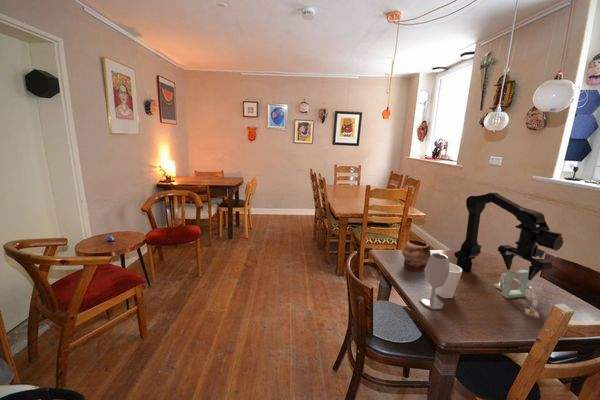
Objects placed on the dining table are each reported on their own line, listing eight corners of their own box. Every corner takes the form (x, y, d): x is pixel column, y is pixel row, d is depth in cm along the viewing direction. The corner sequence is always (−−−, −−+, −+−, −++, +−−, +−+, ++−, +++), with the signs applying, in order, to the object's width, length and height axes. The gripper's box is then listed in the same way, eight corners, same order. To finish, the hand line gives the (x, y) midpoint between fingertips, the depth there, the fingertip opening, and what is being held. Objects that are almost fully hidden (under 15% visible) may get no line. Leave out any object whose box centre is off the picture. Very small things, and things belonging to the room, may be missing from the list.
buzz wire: (528, 318, 101) (540, 298, 99) (490, 284, 125) (499, 267, 123) (542, 322, 101) (554, 303, 99) (502, 287, 125) (511, 271, 122)
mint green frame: (507, 298, 114) (513, 274, 111) (500, 294, 117) (506, 270, 114) (525, 296, 116) (531, 272, 114) (518, 292, 119) (524, 269, 116)
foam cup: (454, 291, 118) (459, 264, 115) (459, 302, 109) (464, 274, 106) (431, 286, 120) (435, 260, 118) (433, 297, 112) (438, 269, 109)
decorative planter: (415, 258, 150) (418, 235, 146) (436, 267, 140) (440, 242, 137) (394, 267, 138) (397, 242, 135) (415, 277, 128) (420, 250, 125)
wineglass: (433, 312, 102) (442, 262, 97) (414, 300, 109) (422, 253, 105) (447, 306, 106) (457, 258, 101) (428, 295, 113) (436, 250, 109)
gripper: (567, 249, 104) (557, 284, 107) (519, 232, 121) (512, 263, 125) (545, 250, 101) (536, 286, 105) (500, 233, 119) (493, 265, 122)
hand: (518, 274), depth 114 cm, fingers open, 9 cm apart
